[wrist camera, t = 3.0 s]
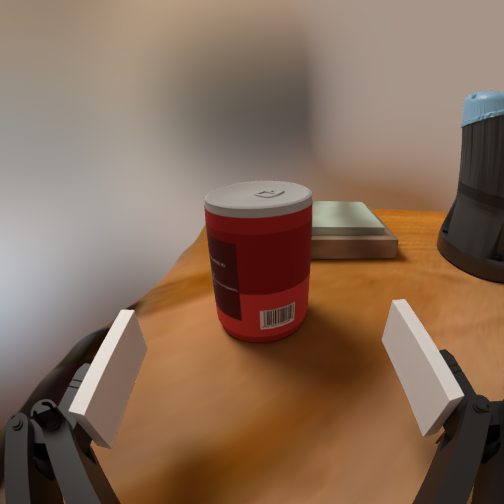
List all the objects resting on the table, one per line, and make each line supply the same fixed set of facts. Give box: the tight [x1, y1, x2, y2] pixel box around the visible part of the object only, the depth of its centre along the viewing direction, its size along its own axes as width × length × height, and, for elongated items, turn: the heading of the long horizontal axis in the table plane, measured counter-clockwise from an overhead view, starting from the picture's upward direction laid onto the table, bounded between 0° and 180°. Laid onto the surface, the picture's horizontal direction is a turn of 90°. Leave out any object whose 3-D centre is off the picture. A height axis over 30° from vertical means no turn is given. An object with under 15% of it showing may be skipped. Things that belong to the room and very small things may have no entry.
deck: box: [311, 201, 398, 259], centre depth 40 cm, size 22×14×4 cm, turn 86°
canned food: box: [204, 181, 313, 342], centre depth 23 cm, size 8×8×11 cm
